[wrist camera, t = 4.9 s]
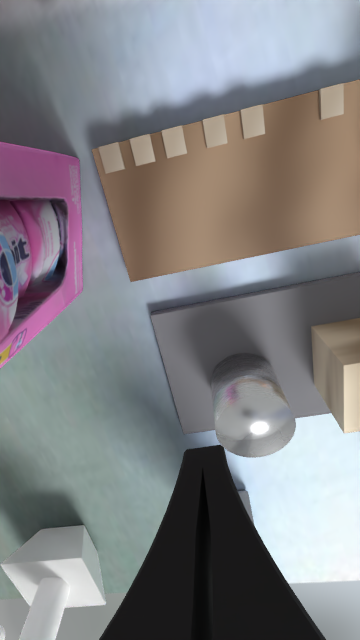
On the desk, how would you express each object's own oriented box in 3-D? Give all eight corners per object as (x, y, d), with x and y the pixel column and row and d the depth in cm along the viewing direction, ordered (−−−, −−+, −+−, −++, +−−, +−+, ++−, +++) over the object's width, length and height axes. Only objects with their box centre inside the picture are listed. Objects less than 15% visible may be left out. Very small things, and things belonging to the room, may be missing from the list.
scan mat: (414, 261, 18) (421, 263, 18) (402, 396, 22) (407, 402, 22) (151, 312, 20) (150, 315, 19) (183, 428, 24) (183, 434, 23)
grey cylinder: (271, 347, 20) (292, 390, 16) (277, 401, 22) (298, 451, 18) (205, 359, 21) (208, 403, 16) (216, 410, 22) (222, 461, 18)
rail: (490, 48, 14) (515, 37, 13) (466, 207, 17) (486, 209, 16) (97, 151, 16) (90, 149, 15) (133, 277, 19) (129, 283, 18)
